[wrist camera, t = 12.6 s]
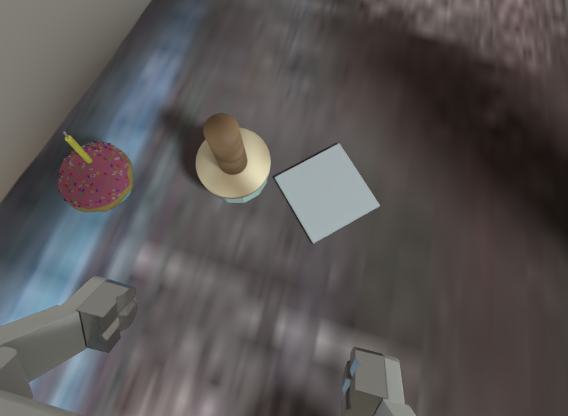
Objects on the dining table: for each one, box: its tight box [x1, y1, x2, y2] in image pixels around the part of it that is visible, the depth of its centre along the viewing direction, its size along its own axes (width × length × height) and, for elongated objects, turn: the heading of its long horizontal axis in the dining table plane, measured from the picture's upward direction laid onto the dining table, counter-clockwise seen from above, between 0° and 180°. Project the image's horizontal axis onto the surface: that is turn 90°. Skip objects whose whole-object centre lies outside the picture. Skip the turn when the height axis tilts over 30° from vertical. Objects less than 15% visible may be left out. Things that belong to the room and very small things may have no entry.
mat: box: [275, 144, 380, 243], centre depth 44 cm, size 10×10×1 cm
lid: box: [196, 113, 271, 199], centre depth 37 cm, size 9×9×9 cm
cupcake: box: [57, 131, 133, 212], centre depth 38 cm, size 9×8×12 cm
